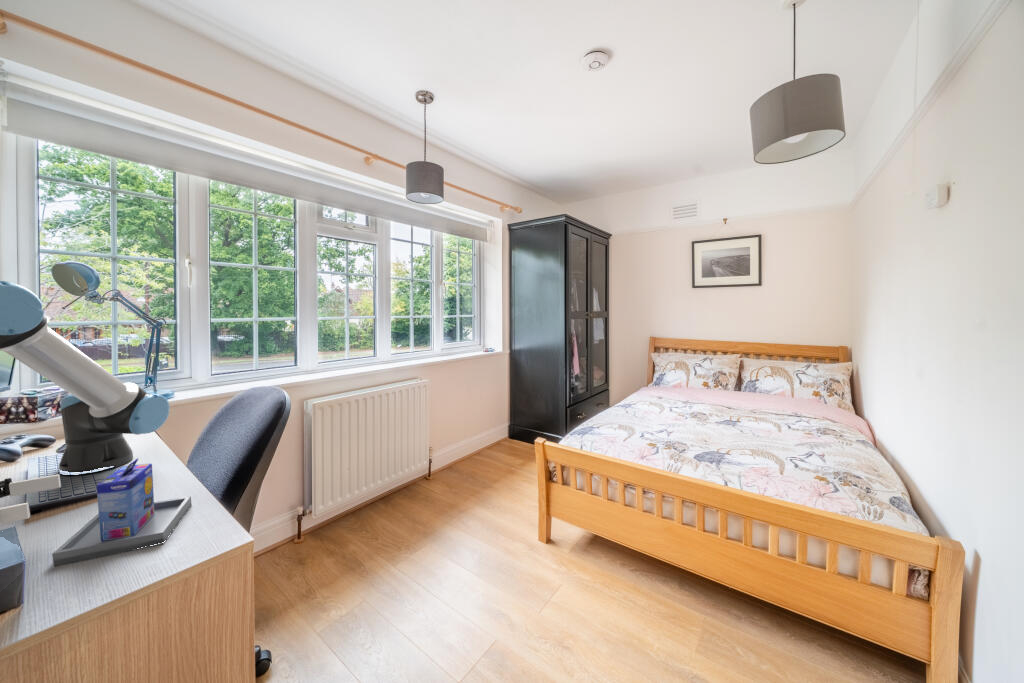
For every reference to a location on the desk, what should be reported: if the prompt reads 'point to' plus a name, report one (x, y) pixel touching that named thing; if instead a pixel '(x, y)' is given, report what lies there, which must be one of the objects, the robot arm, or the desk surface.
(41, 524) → the desk surface
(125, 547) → the dock tray
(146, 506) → the ink cartridge box
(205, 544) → the desk surface
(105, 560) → the desk surface
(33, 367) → the robot arm
